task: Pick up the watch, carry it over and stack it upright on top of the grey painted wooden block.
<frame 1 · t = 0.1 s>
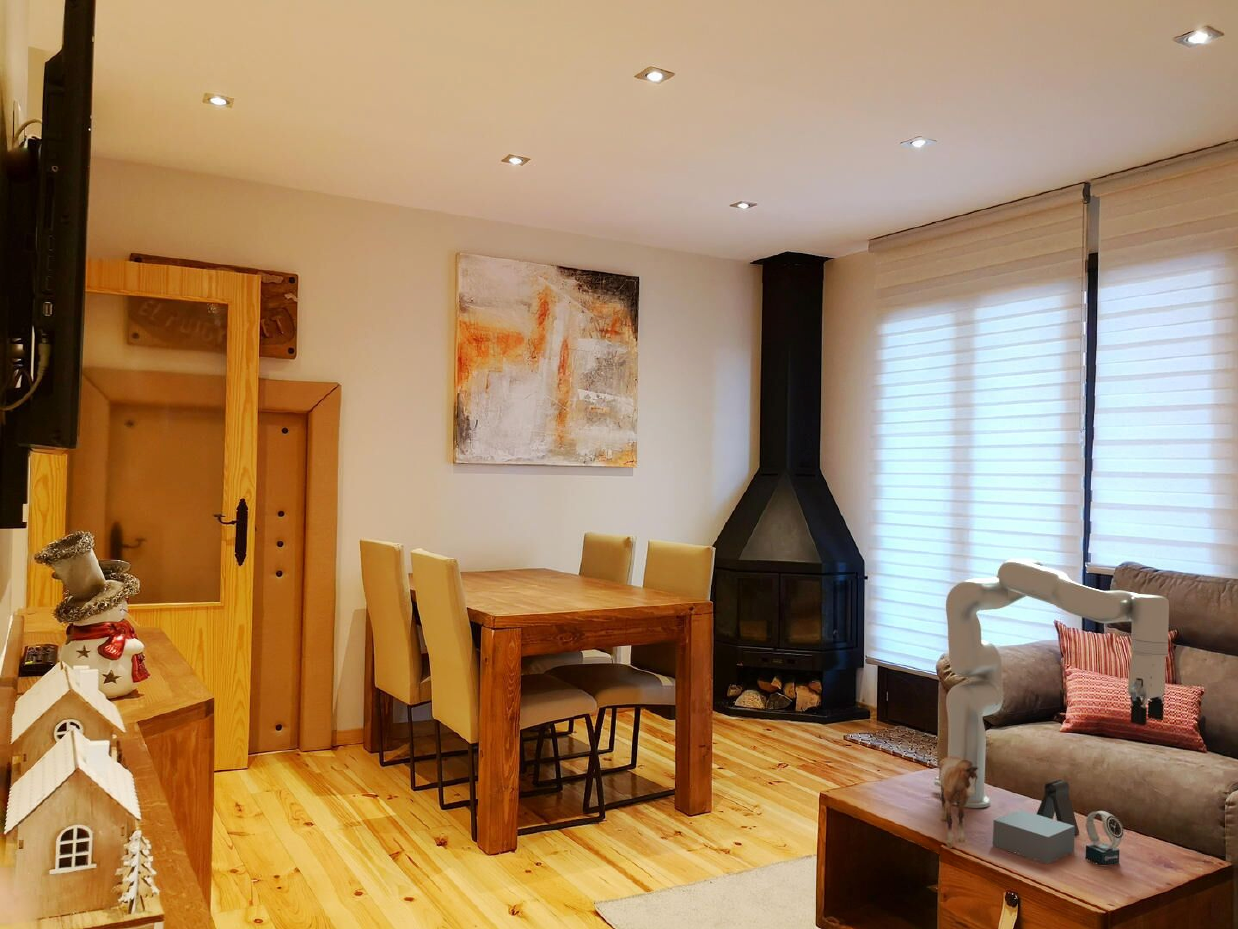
hand: (1147, 721, 220), 31 cm above the table, tool pointing down, fingers open, 9 cm apart
base block: (1033, 848, 221), on the table
watch: (1102, 862, 215), on the table
horse figurine: (966, 835, 228), on the table
phone stand: (1055, 831, 234), on the table
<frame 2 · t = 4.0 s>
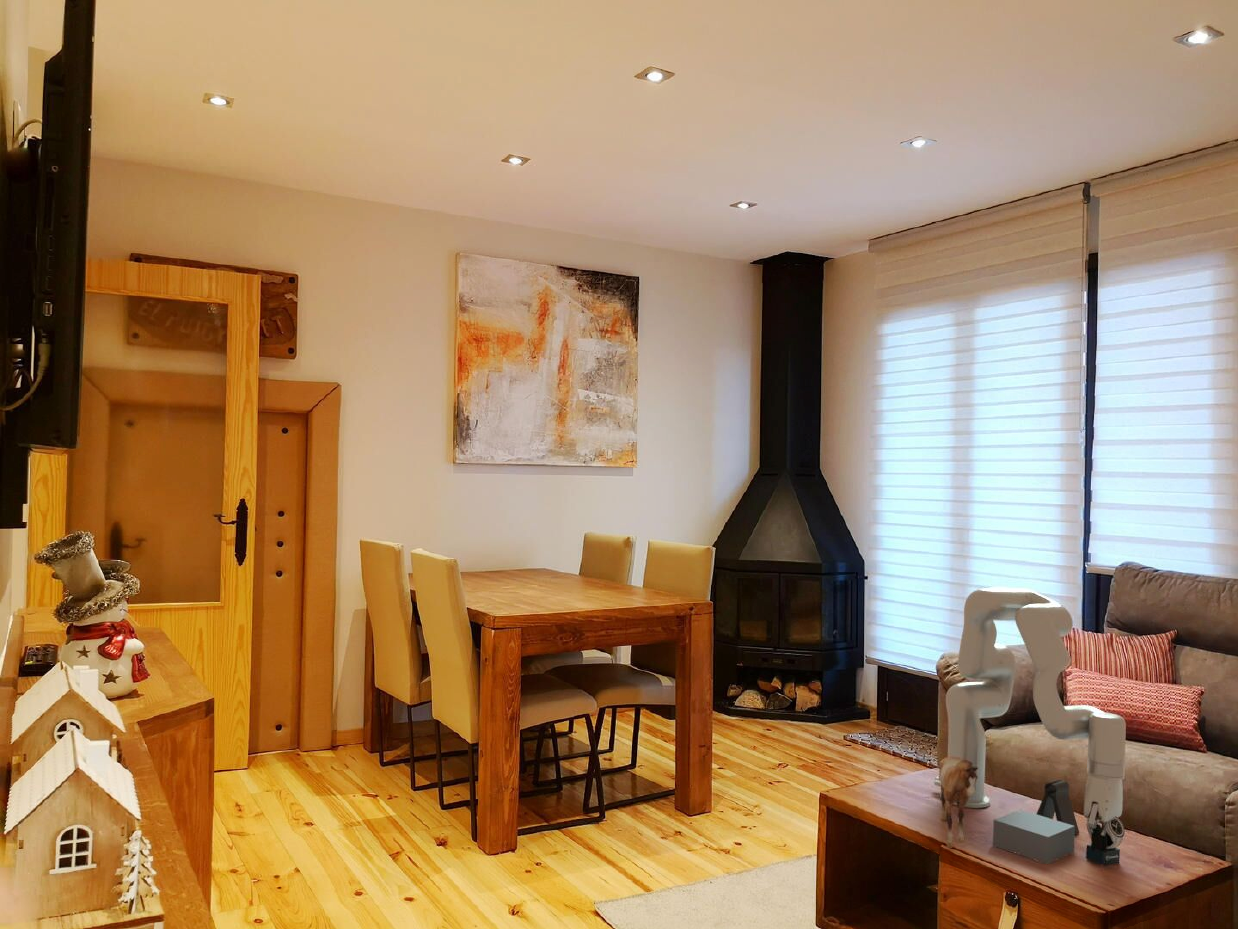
hand: (1103, 849, 215), 3 cm above the table, tool pointing down, fingers closed on watch, 3 cm apart
watch: (1102, 862, 215), on the table, touching gripper
everything else where it was.
when the fingers open (10 cm above the table, at t = 9.7 s): watch drops 1 cm, resting on base block.
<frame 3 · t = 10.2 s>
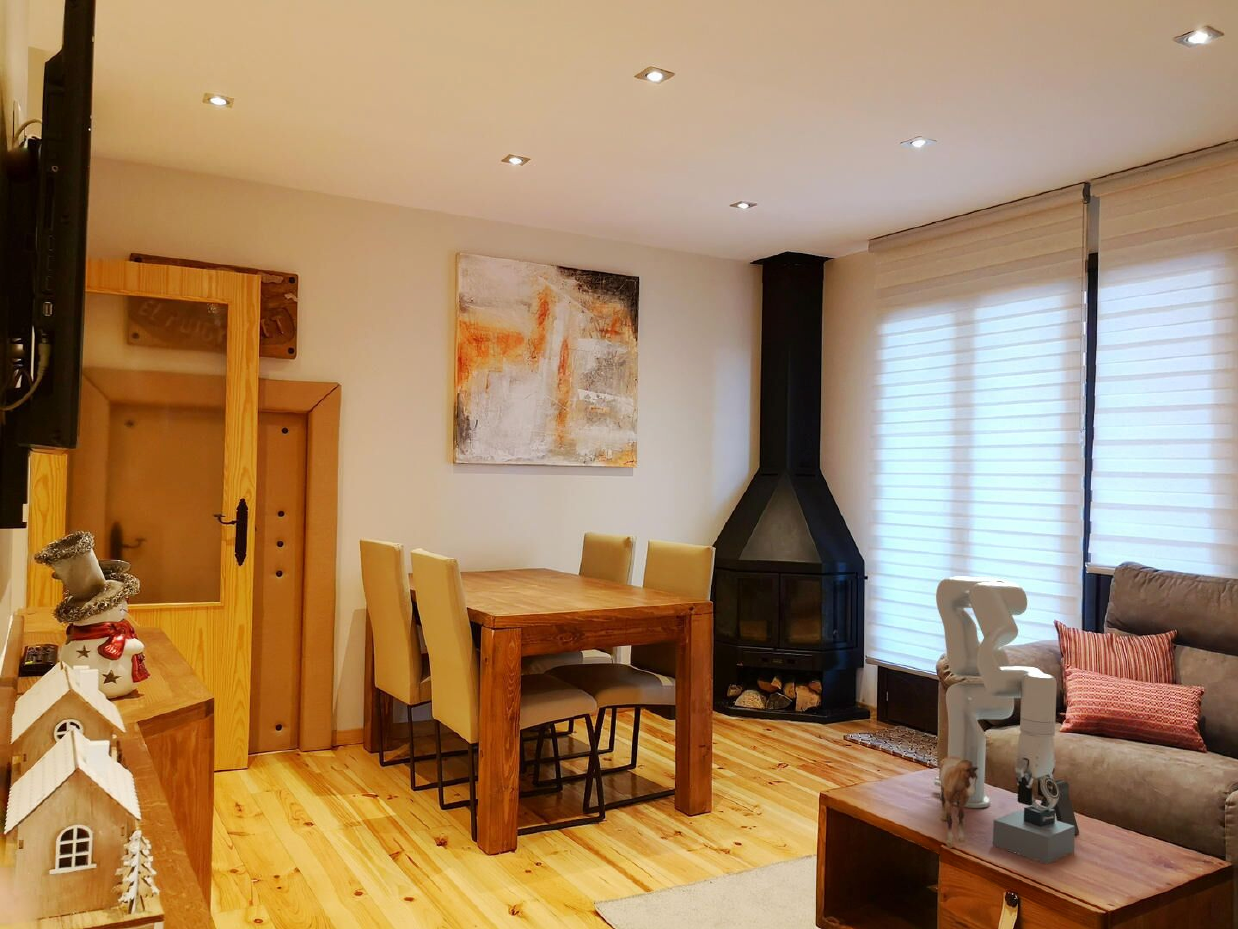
hand: (1034, 800, 221), 11 cm above the table, tool pointing down, fingers open, 9 cm apart
watch: (1039, 823, 221), point 6 cm above the table, touching base block
everything else where it was.
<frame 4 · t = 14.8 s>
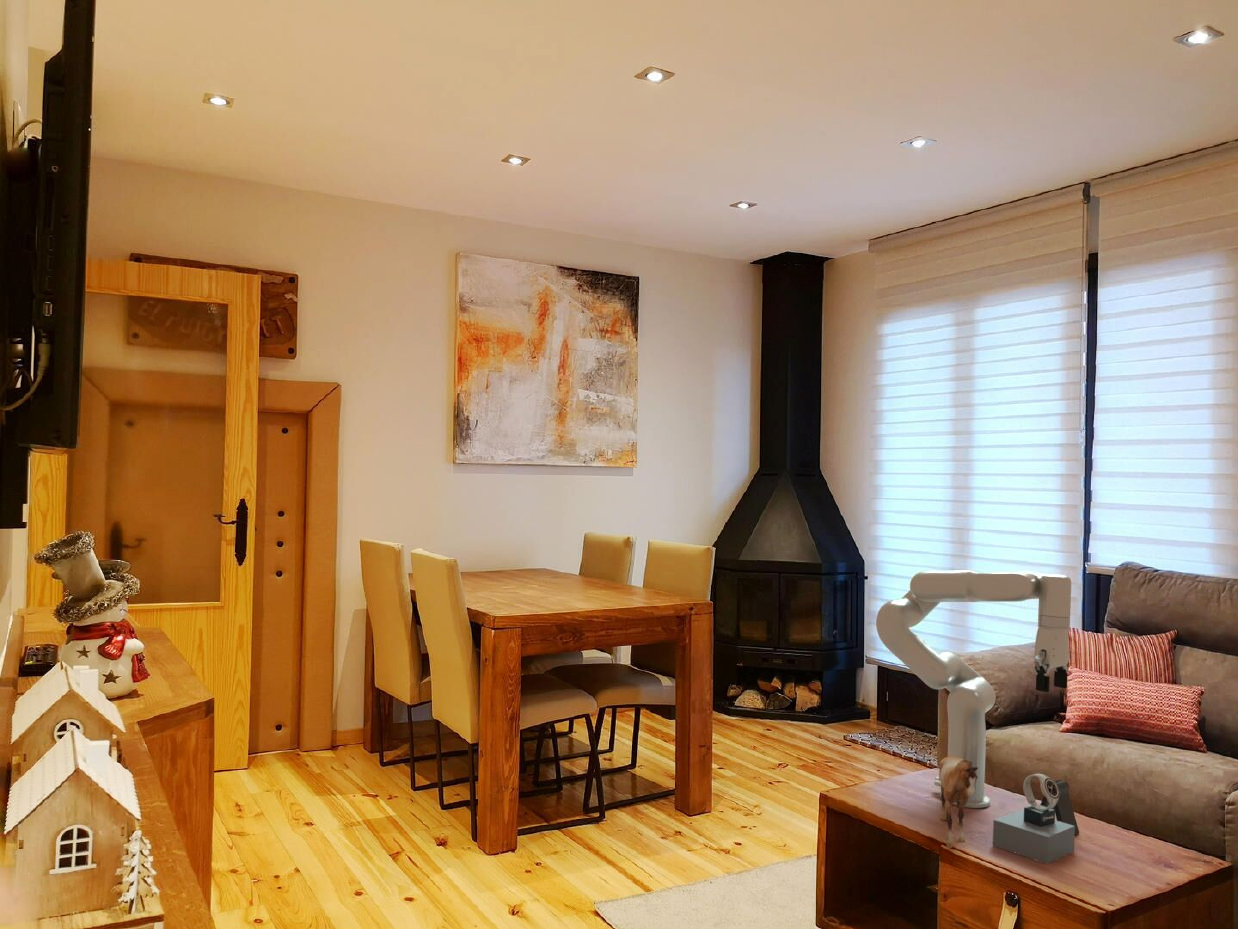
hand: (1051, 689, 243), 33 cm above the table, tool pointing down, fingers open, 9 cm apart
nothing on the table moved.
at the end: watch inside the target area on the base block (1.8 cm from its centre), point 5.8 cm above the base block's base; watch tilted 0°; the gripper is holding nothing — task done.
